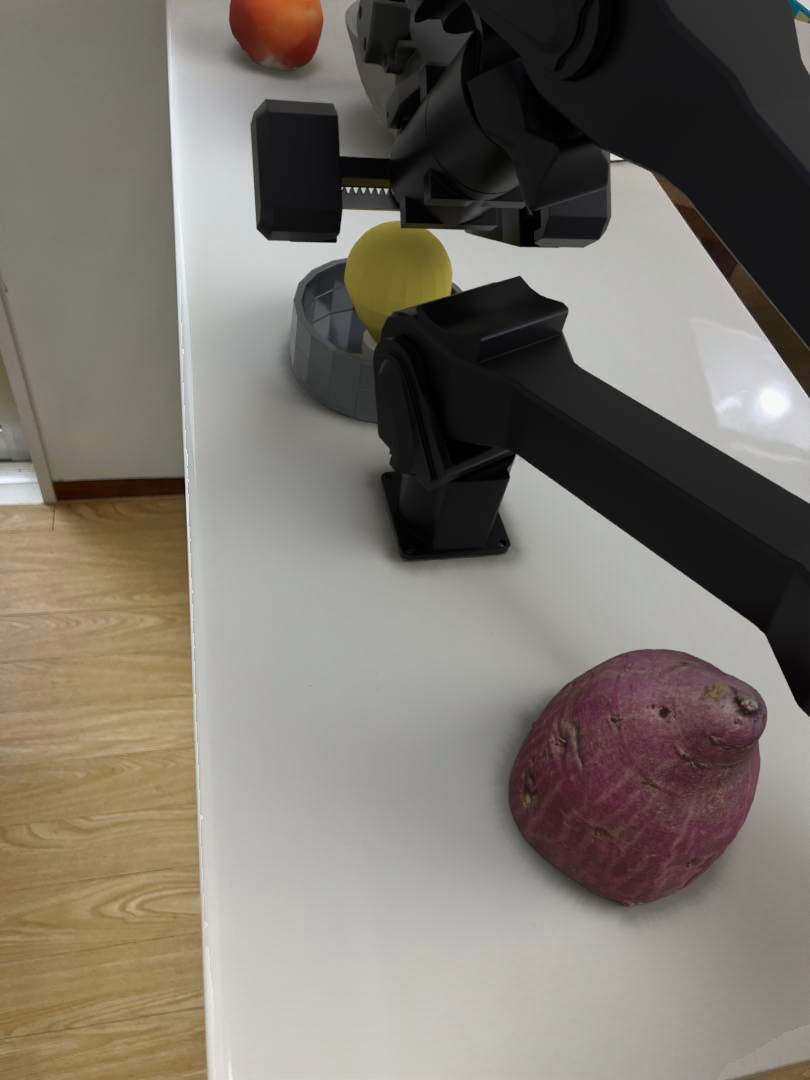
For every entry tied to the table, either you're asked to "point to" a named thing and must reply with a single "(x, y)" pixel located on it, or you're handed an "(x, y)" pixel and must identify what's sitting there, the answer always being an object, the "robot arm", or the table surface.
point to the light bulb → (394, 275)
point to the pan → (332, 344)
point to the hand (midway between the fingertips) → (395, 221)
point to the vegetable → (640, 773)
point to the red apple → (277, 30)
